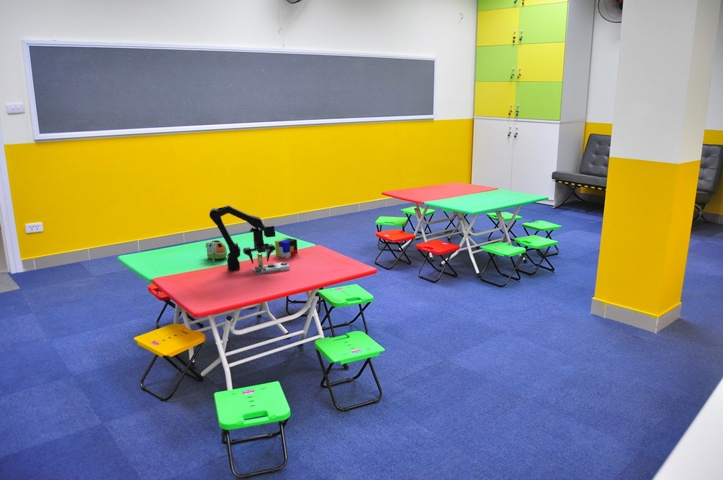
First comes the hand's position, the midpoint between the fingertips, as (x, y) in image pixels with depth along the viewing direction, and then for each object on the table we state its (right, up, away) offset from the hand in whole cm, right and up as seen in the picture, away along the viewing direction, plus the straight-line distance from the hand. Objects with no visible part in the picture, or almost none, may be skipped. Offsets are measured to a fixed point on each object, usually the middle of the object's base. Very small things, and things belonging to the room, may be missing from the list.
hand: (260, 262), depth 349 cm
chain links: (+8, -4, -7) cm, 11 cm away
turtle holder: (-32, +2, +21) cm, 38 cm away
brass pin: (0, -3, +1) cm, 3 cm away
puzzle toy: (+13, +4, +24) cm, 28 cm away
